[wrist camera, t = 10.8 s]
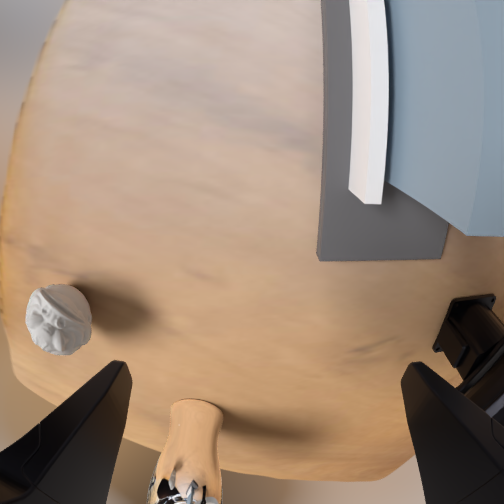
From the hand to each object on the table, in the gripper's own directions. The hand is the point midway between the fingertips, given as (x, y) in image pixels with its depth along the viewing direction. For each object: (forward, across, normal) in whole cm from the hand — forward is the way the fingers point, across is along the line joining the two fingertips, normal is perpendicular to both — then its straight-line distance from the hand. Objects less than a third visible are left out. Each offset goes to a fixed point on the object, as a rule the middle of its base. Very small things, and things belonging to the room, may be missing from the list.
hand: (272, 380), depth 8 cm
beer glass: (+13, +6, +23) cm, 27 cm away
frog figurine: (+13, +16, +7) cm, 22 cm away
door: (+12, -8, -11) cm, 18 cm away
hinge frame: (+13, -8, -11) cm, 19 cm away
